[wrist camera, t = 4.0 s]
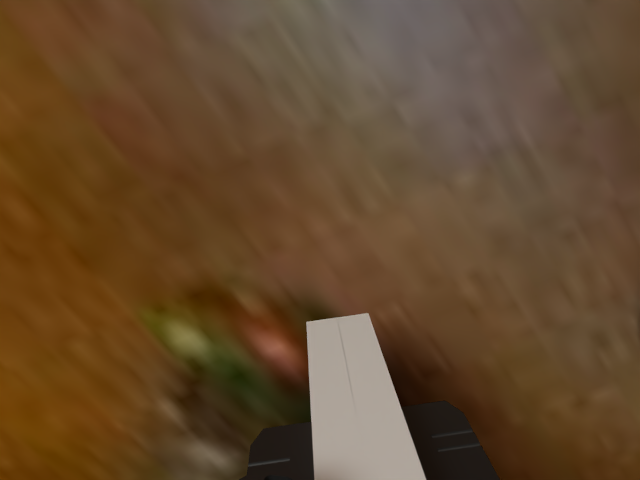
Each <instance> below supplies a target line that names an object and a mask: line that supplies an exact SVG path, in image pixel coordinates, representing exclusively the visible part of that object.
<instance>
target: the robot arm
mask: <svg viewBox="0 0 640 480" xmlns="http://www.w3.org/2000/svg"><path fill="white" fill-rule="evenodd" d="M306 323H307V342H308V362H309V382H310V401H311V421H312V422H307V423H300V424H293V425H286V426H279V427H272V428H265V429H263V430H262V431H261V433H260V434H259V435H258V437H257V438H256V439H255V441H254V442H253V443H252V445H251V447H250V455H249V463H248V464H249V467H248V470H247V476H245V477H243V478H241V479H239V480H500V479H499V477H498V476H497V474H496V472H495V470H494V468H493V466H492V465H491V463H490V461H489V459H488V457H487V455H486V454H485V452H484V450H483V448H482V446H480V443H479V441H478V439H477V437H476V435H475V433H474V432H473V431H472V428H471V426H470V424H469V422H468V421H467V419H466V417H465V415H464V413H463V412H461V411H460V410H458V409H457V408H455V407H454V406H452V405H451V404H449V403H448V402H446V401H439V402H432V403H425V404H418V405H411V406H404V407H401V406H400V403H399V400H398V397H397V395H396V392H395V389H394V386H393V383H392V380H391V377H390V375H389V372H388V369H387V366H386V363H385V360H384V357H383V354H382V352H381V349H380V346H379V343H378V340H377V337H376V334H375V331H374V329H373V326H372V323H371V320H370V317H369V314H368V313H366V314H359V315H352V316H345V317H338V318H331V319H324V320H317V321H310V322H306Z"/></svg>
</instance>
